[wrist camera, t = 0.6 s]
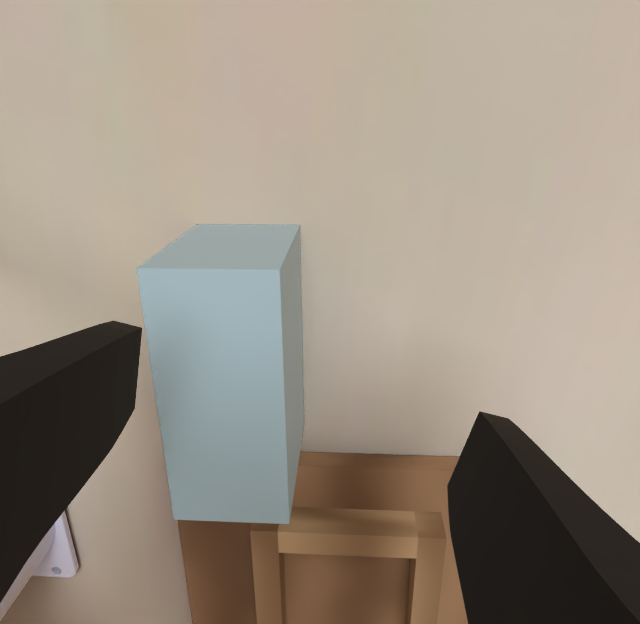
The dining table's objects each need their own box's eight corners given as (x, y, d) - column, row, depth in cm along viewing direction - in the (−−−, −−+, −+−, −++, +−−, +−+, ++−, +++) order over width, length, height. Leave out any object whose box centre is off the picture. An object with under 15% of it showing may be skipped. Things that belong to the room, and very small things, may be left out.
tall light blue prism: (216, 420, 23) (173, 519, 17) (197, 223, 19) (136, 268, 14) (304, 422, 23) (289, 524, 17) (300, 224, 19) (279, 269, 14)
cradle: (210, 696, 30) (198, 745, 28) (176, 448, 23) (157, 484, 21) (481, 712, 29) (493, 764, 27) (527, 458, 22) (547, 499, 20)
